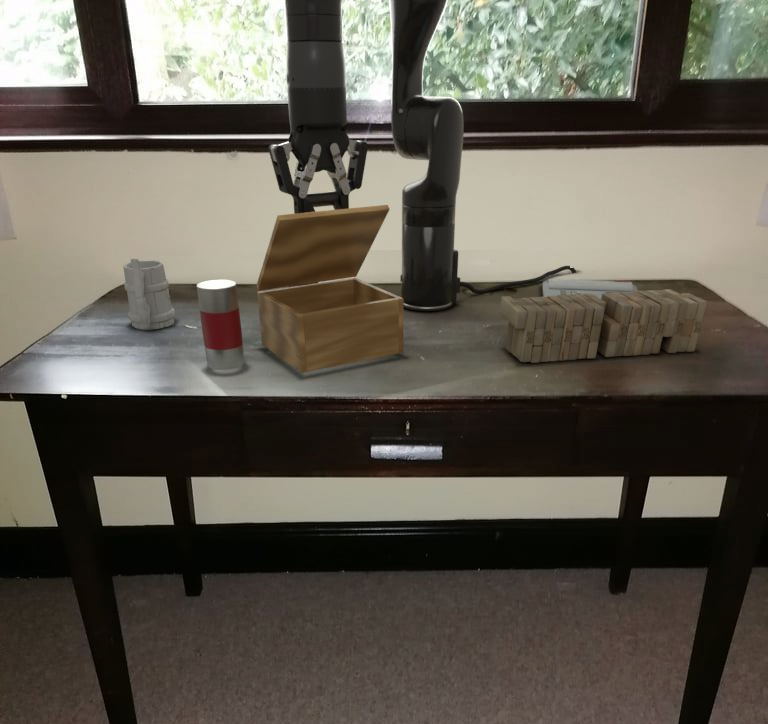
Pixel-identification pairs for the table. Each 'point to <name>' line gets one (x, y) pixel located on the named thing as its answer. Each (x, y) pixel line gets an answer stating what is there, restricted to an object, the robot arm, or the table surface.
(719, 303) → the table surface
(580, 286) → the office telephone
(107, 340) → the table surface
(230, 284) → the can
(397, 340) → the chest
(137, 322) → the mug
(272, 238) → the lid
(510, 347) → the block tower
